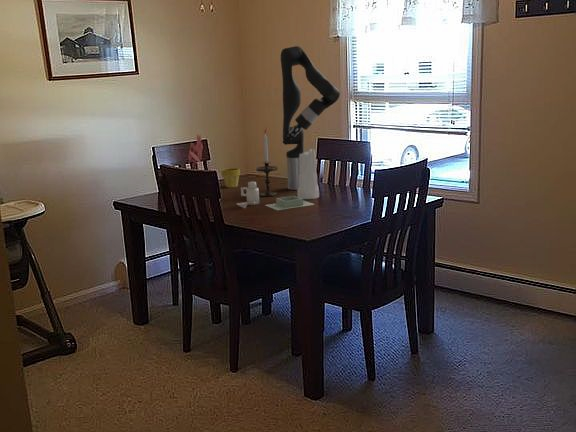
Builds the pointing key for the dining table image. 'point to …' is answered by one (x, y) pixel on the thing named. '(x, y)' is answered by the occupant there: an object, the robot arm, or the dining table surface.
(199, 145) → the figurine
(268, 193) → the candlestick
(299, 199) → the tray
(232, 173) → the plant pot
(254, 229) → the dining table surface
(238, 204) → the grey mat
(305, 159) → the decorative vase
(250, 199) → the cream jug
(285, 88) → the robot arm
